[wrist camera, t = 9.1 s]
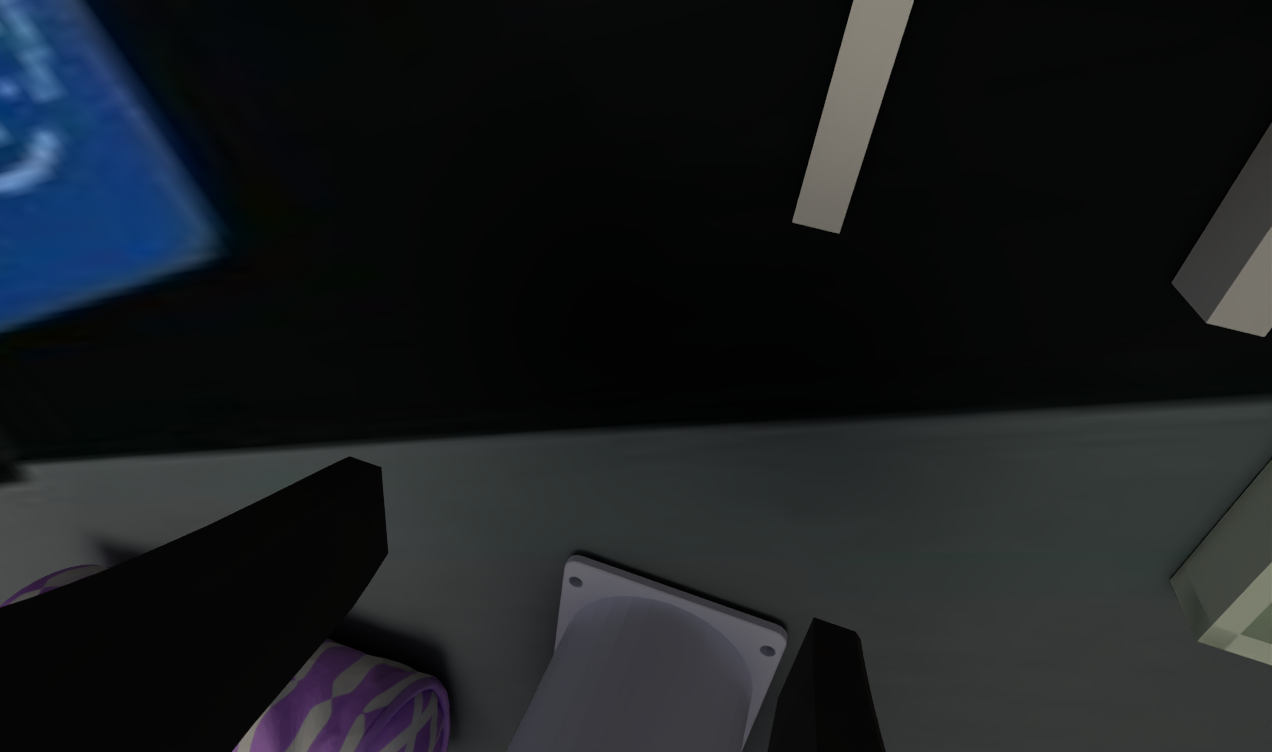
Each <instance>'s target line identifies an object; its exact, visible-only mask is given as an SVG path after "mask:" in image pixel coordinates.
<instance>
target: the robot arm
mask: <svg viewBox="0 0 1272 752" xmlns="http://www.w3.org/2000/svg"><path fill="white" fill-rule="evenodd" d="M387 554H388V544H387V532H386V520H385V507H384V495H383V483H382V470H381V467H379V466H376V465H373V464H370V463H367V462H364V461H361V460H358V459H356V458H353V457H350V456H349V457H347V458H345V459H343V460H341V461H338V462H336V463H334V464H332V465H330V466H328V467H326V468H324V469H322V470H320V471H318V472H316V473H314V474H312V475H310V476H308V477H306V478H304V479H302V480H300V481H298V482H296V483H294V484H292V485H290V486H288V487H286V488H284V489H282V490H280V491H278V492H276V493H274V494H272V495H270V496H268V497H266V498H264V499H262V500H259V501H257V502H255V503H253V504H251V505H249V506H247V507H245V508H243V509H241V510H239V511H237V512H235V513H233V514H231V515H229V516H226V517H224V518H222V519H220V520H218V521H216V522H214V523H212V524H210V525H208V526H206V527H203V528H201V529H199V530H197V531H194V532H192V533H190V534H187V535H185V536H183V537H181V538H178V539H176V540H174V541H172V542H169V543H167V544H165V545H163V546H160V547H158V548H156V549H154V550H151V551H149V552H147V553H145V554H142V555H140V556H138V557H135V558H133V559H131V560H128V561H126V562H123V563H121V564H119V565H116V566H114V567H111V568H109V569H106V570H104V571H101V572H98V573H96V574H93V575H91V576H88V577H86V578H83V579H80V580H77V581H75V582H72V583H69V584H67V585H64V586H61V587H58V588H56V589H53V590H50V591H48V592H45V593H42V594H39V595H36V596H33V597H31V598H28V599H25V600H22V601H19V602H15V603H12V604H9V605H6V606H3V607H0V752H232V751H233V750H234V749H235V747H236V746H237V745H238V744H239V742H240V741H241V740H242V738H243V737H244V736H245V735H246V733H247V732H248V731H249V730H250V728H251V727H252V726H253V725H254V723H255V722H256V721H257V720H258V719H259V717H260V716H261V715H262V714H263V713H264V712H265V710H266V709H267V708H268V707H269V706H270V704H271V703H272V702H273V701H274V700H275V699H276V697H277V696H278V695H279V694H280V693H281V692H282V690H283V689H284V688H285V687H286V686H287V685H288V683H289V682H290V681H291V680H292V679H293V677H294V676H295V675H296V674H297V673H298V672H299V670H300V669H301V668H302V667H303V666H304V665H305V663H306V662H307V661H308V660H309V659H310V658H311V656H312V655H313V654H314V653H315V652H316V651H317V649H318V648H319V647H320V646H321V645H322V643H323V642H324V641H325V640H326V639H327V637H328V636H329V635H330V634H331V633H332V632H333V630H334V629H335V628H336V627H337V626H338V624H339V623H340V622H341V621H342V620H343V618H344V617H345V616H346V615H347V613H348V612H349V611H350V610H351V609H352V607H353V606H354V605H355V603H356V602H357V600H358V599H359V597H360V596H361V594H362V593H363V591H364V590H365V588H366V587H367V586H368V584H369V583H370V581H371V579H372V578H373V576H374V575H375V573H376V572H377V570H378V568H379V567H380V565H381V564H382V562H383V561H384V559H385V557H386V556H387ZM578 578H579V579H578ZM787 637H788V635H787V632H786V631H785V630H784V629H783V628H782V627H781V626H779V625H777V624H774V623H771V622H769V621H766V620H763V619H760V618H757V617H754V616H752V615H749V614H746V613H743V612H740V611H737V610H735V609H732V608H729V607H726V606H723V605H720V604H718V603H715V602H712V601H709V600H706V599H703V598H700V597H698V596H695V595H692V594H689V593H686V592H683V591H681V590H678V589H675V588H672V587H669V586H666V585H664V584H661V583H658V582H655V581H652V580H649V579H646V578H644V577H641V576H638V575H635V574H632V573H629V572H627V571H624V570H621V569H618V568H615V567H612V566H610V565H607V564H604V563H601V562H598V561H595V560H592V559H590V558H587V557H584V556H580V555H573V556H571V557H569V559H568V561H567V563H566V565H565V567H564V575H563V583H562V591H561V599H560V608H559V616H558V624H557V632H556V640H555V648H554V655H553V657H552V659H551V661H550V663H549V665H548V667H547V669H546V671H545V673H544V675H543V677H542V679H541V682H540V684H539V686H538V688H537V690H536V692H535V694H534V696H533V698H532V700H531V702H530V704H529V706H528V708H527V710H526V712H525V714H524V716H523V718H522V720H521V722H520V724H519V727H518V729H517V731H516V733H515V735H514V737H513V739H512V741H511V743H510V745H509V747H508V749H507V751H506V752H742V750H743V747H744V745H745V743H746V740H747V738H748V736H749V733H750V731H751V728H752V726H753V724H754V721H755V719H756V717H757V714H758V712H759V709H760V707H761V705H762V702H763V700H764V698H765V695H766V693H767V690H768V688H769V686H770V683H771V681H772V679H773V676H774V674H775V671H776V669H777V667H778V664H779V662H780V660H781V657H782V655H783V652H784V650H785V648H786V644H787ZM767 646H770V647H767ZM768 752H886V751H885V747H884V744H883V740H882V736H881V732H880V728H879V724H878V720H877V716H876V712H875V708H874V704H873V700H872V695H871V691H870V687H869V682H868V677H867V672H866V667H865V662H864V657H863V651H862V645H861V639H860V638H859V636H858V635H857V633H856V632H855V631H852V630H849V629H846V628H843V627H840V626H837V625H835V624H832V623H829V622H826V621H823V620H820V619H817V618H813V620H812V623H811V625H810V627H809V629H808V632H807V634H806V636H805V639H804V641H803V643H802V645H801V648H800V650H799V652H798V654H797V657H796V659H795V661H794V663H793V666H792V668H791V670H790V673H789V675H788V677H787V679H786V682H785V684H784V686H783V688H782V691H781V693H780V695H779V698H778V702H777V707H776V712H775V717H774V722H773V727H772V732H771V737H770V742H769V747H768Z"/></svg>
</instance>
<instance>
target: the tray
mask: <svg viewBox="0 0 1272 752" xmlns="http://www.w3.org/2000/svg"><path fill="white" fill-rule="evenodd" d="M1170 582H1171V585H1172V587H1173V589H1174V591H1175V593H1176V596H1177V598H1178V600H1179V602H1180V605H1181V607H1182V609H1183V611H1184V613H1185V616H1186V618H1187V620H1188V622H1189V625H1190V627H1191V629H1192V631H1193V633H1194V636H1195V638H1196V640H1197V641H1198V642H1201V643H1204V644H1207V645H1210V646H1213V647H1217V648H1220V649H1223V650H1226V651H1229V652H1232V653H1235V654H1238V655H1241V656H1245V657H1248V658H1251V659H1254V660H1257V661H1260V662H1263V663H1266V664H1270V665H1272V459H1271V461H1270V462H1269V463H1268V464H1267V465H1266V467H1265V468H1264V469H1263V470H1262V471H1261V472H1260V474H1259V475H1258V476H1257V477H1256V478H1255V480H1254V481H1253V482H1252V483H1251V484H1250V486H1249V487H1248V488H1247V489H1246V490H1245V491H1244V493H1243V494H1242V495H1241V496H1240V497H1239V499H1238V500H1237V501H1236V502H1235V503H1234V505H1233V506H1232V507H1231V508H1230V509H1229V510H1228V512H1227V513H1226V514H1225V515H1224V516H1223V518H1222V519H1221V520H1220V521H1219V522H1218V524H1217V525H1216V526H1215V527H1214V528H1213V529H1212V531H1211V532H1210V533H1209V534H1208V535H1207V537H1206V538H1205V539H1204V540H1203V541H1202V542H1201V544H1200V545H1199V546H1198V547H1197V548H1196V550H1195V551H1194V552H1193V553H1192V554H1191V556H1190V557H1189V558H1188V559H1187V560H1186V561H1185V563H1184V564H1183V565H1182V566H1181V567H1180V569H1179V570H1178V571H1177V572H1176V573H1175V575H1174V576H1173V577H1172V578H1171V579H1170Z"/></svg>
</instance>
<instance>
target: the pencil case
mask: <svg viewBox="0 0 1272 752" xmlns="http://www.w3.org/2000/svg"><path fill="white" fill-rule="evenodd" d="M106 569H109V568H108V567H104V566H98V565H80V566H75V567H70V568H66V569H63V570H60V571H57V572H54V573H52V574H50V575H47V576H45V577H43V578H41V579H39V580H37V581H35V582H33V583H32V584H30V585H28V586H26V587H25V588H23V589H21V590H20V591H18V592H17V593H16V594H14V595H13V596H12V597H10V598H9V599H8V600H6V601H5V602H4V603H3V604H2V605H1V606H0V607H3V606H6V605H9V604H12V603H15V602H19V601H22V600H25V599H28V598H31V597H33V596H36V595H39V594H42V593H45V592H48V591H50V590H53V589H56V588H58V587H61V586H64V585H67V584H69V583H72V582H75V581H77V580H80V579H83V578H86V577H88V576H91V575H93V574H96V573H98V572H101V571H104V570H106ZM449 708H450V704H449V699H448V694H447V691H446V689H445V687H444V686H443V684H442V683H441V682H440V681H439V679H438V678H436V677H435V676H432V675H429V674H426V673H422V672H418V671H416V670H414V669H412V668H411V667H409V666H407V665H404V664H402V663H399V662H396V661H392V660H389V659H385V658H380V657H375V656H371V655H367V654H365V653H364V652H362V651H359V650H356V649H353V648H350V647H347V646H344V645H341V644H338V643H337V642H335V641H333V640H331V639H328V638H327V639H326V640H325V641H324V642H323V643H322V645H321V646H320V647H319V648H318V649H317V651H316V652H315V653H314V654H313V655H312V656H311V658H310V659H309V660H308V661H307V662H306V663H305V665H304V666H303V667H302V668H301V669H300V670H299V672H298V673H297V674H296V675H295V676H294V677H293V679H292V680H291V681H290V682H289V683H288V685H287V686H286V687H285V688H284V689H283V690H282V692H281V693H280V694H279V695H278V696H277V697H276V699H275V700H274V701H273V702H272V703H271V704H270V706H269V707H268V708H267V709H266V710H265V712H264V713H263V714H262V715H261V716H260V717H259V719H258V720H257V721H256V722H255V723H254V725H253V726H252V727H251V728H250V730H249V731H248V732H247V733H246V735H245V736H244V737H243V738H242V740H241V741H240V742H239V744H238V745H237V746H236V747H235V749H234V750H233V751H232V752H447V748H448V744H449V736H450V712H449Z"/></svg>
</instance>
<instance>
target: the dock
mask: <svg viewBox="0 0 1272 752" xmlns="http://www.w3.org/2000/svg"><path fill="white" fill-rule="evenodd" d="M913 2H914V0H854V1H853V4H852V8H851V12H850V15H849V19H848V23H847V26H846V30H845V33H844V37H843V41H842V44H841V48H840V51H839V55H838V59H837V62H836V66H835V69H834V73H833V77H832V80H831V84H830V87H829V91H828V95H827V98H826V102H825V105H824V109H823V113H822V116H821V120H820V123H819V127H818V131H817V134H816V138H815V141H814V145H813V149H812V152H811V156H810V159H809V163H808V167H807V170H806V174H805V178H804V181H803V185H802V188H801V192H800V196H799V199H798V203H797V206H796V210H795V214H794V217H793V221H792V222H793V223H797V224H801V225H805V226H810V227H814V228H818V229H822V230H826V231H830V232H834V233H838V234H839V233H840V230H841V227H842V224H843V221H844V217H845V214H846V211H847V208H848V205H849V202H850V199H851V195H852V192H853V189H854V186H855V183H856V180H857V177H858V174H859V170H860V167H861V164H862V161H863V158H864V155H865V152H866V149H867V145H868V142H869V139H870V136H871V133H872V130H873V127H874V124H875V120H876V117H877V114H878V111H879V108H880V105H881V102H882V99H883V95H884V92H885V89H886V86H887V83H888V80H889V77H890V74H891V70H892V67H893V64H894V61H895V58H896V55H897V52H898V48H899V45H900V42H901V39H902V36H903V33H904V30H905V27H906V23H907V20H908V17H909V14H910V11H911V8H912V5H913ZM1172 284H1173V285H1174V287H1175V288H1176V289H1177V290H1178V291H1179V292H1180V293H1181V295H1182V296H1183V297H1184V298H1185V299H1186V300H1187V302H1188V303H1189V304H1190V305H1191V306H1192V307H1193V308H1194V310H1195V311H1196V312H1197V313H1198V314H1199V315H1200V316H1201V318H1202V319H1203V320H1204V321H1205V322H1206V323H1209V324H1213V325H1217V326H1221V327H1225V328H1229V329H1233V330H1238V331H1242V332H1246V333H1250V334H1254V335H1258V336H1262V337H1265V336H1266V334H1267V333H1268V332H1269V330H1270V329H1271V327H1272V123H1271V124H1270V126H1269V127H1268V129H1267V131H1266V132H1265V134H1264V135H1263V137H1262V139H1261V140H1260V142H1259V143H1258V145H1257V147H1256V148H1255V150H1254V151H1253V153H1252V155H1251V156H1250V158H1249V159H1248V161H1247V163H1246V164H1245V166H1244V167H1243V169H1242V171H1241V172H1240V174H1239V175H1238V177H1237V179H1236V180H1235V182H1234V183H1233V185H1232V187H1231V188H1230V190H1229V192H1228V193H1227V195H1226V196H1225V198H1224V200H1223V201H1222V203H1221V204H1220V206H1219V208H1218V209H1217V211H1216V212H1215V214H1214V216H1213V217H1212V219H1211V220H1210V222H1209V224H1208V225H1207V227H1206V228H1205V230H1204V232H1203V233H1202V235H1201V236H1200V238H1199V240H1198V241H1197V243H1196V244H1195V246H1194V248H1193V249H1192V251H1191V252H1190V254H1189V256H1188V257H1187V259H1186V260H1185V262H1184V264H1183V265H1182V267H1181V268H1180V270H1179V272H1178V273H1177V275H1176V276H1175V278H1174V280H1173V281H1172Z"/></svg>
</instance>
